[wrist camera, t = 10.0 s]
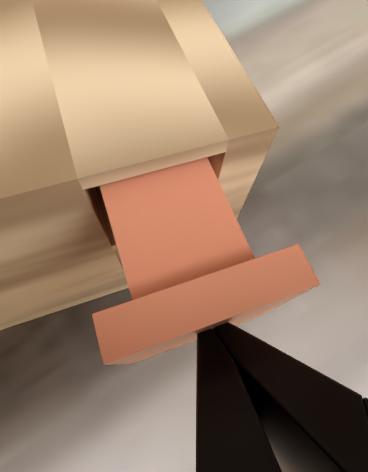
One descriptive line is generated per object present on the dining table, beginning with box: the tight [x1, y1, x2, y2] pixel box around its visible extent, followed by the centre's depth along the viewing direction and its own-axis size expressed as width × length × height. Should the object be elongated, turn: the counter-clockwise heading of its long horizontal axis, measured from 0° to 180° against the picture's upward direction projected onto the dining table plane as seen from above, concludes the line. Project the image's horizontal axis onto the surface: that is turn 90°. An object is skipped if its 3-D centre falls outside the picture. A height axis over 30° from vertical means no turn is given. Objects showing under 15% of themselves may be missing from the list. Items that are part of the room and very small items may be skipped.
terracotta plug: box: [92, 157, 320, 365], centre depth 10 cm, size 12×5×5 cm, turn 20°
